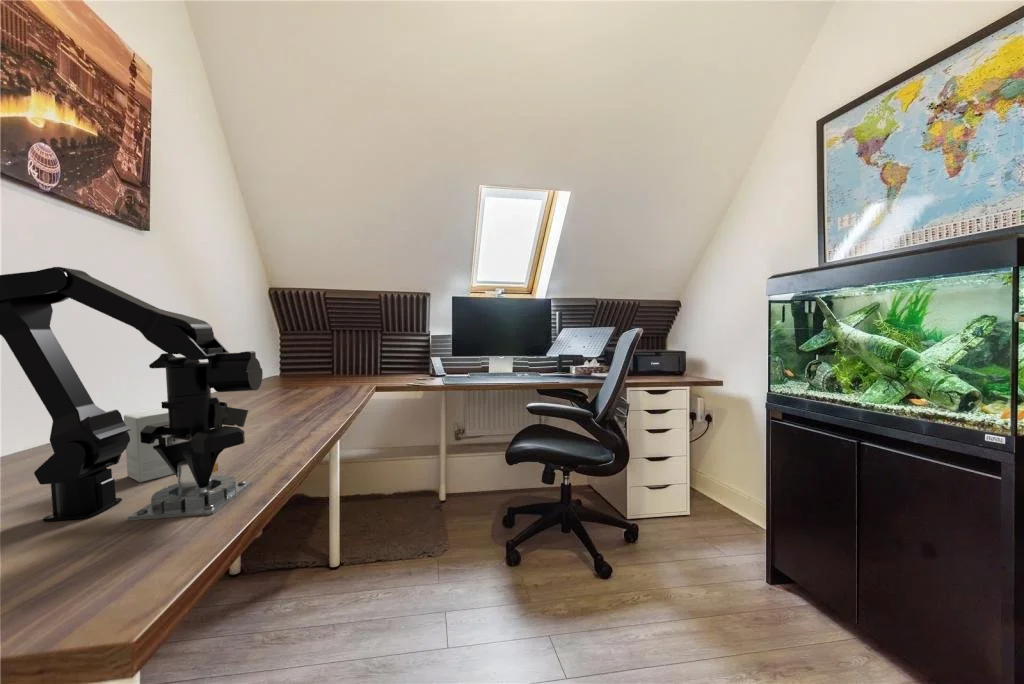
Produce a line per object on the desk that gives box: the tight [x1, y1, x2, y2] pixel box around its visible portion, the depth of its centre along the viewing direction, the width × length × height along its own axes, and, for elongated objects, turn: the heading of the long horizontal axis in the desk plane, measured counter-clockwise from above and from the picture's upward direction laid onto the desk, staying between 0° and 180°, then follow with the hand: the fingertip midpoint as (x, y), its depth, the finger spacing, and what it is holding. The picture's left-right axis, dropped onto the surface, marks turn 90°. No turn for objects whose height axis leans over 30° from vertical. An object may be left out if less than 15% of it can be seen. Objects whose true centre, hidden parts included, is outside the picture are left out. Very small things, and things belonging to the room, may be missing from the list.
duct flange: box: [126, 475, 253, 521], centre depth 68 cm, size 12×12×2 cm
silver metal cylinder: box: [177, 460, 219, 497], centre depth 68 cm, size 5×4×6 cm
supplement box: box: [123, 408, 175, 483], centre depth 81 cm, size 7×7×13 cm
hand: (194, 485), depth 68 cm, fingers closed on silver metal cylinder, 4 cm apart
